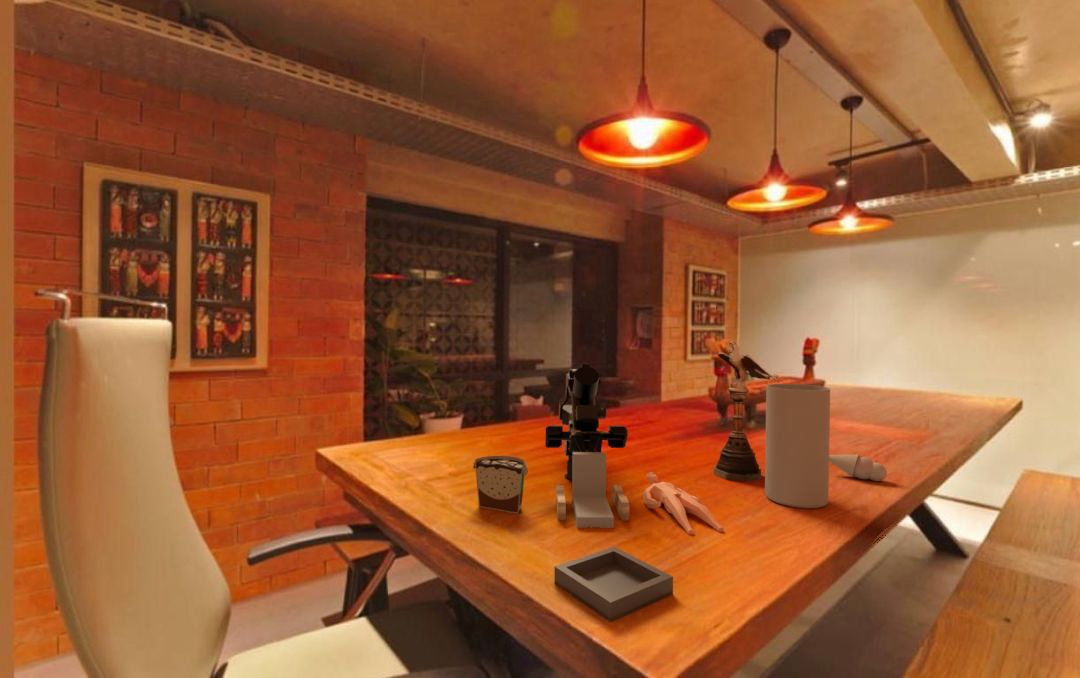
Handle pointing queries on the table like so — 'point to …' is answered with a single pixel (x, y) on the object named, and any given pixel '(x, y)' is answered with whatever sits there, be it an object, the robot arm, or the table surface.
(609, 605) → the tray
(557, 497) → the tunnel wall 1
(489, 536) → the table surface
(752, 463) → the bird statue
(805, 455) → the cylinder vase
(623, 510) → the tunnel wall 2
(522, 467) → the food container
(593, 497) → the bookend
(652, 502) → the male figurine
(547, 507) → the table surface
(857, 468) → the ice cream cone
